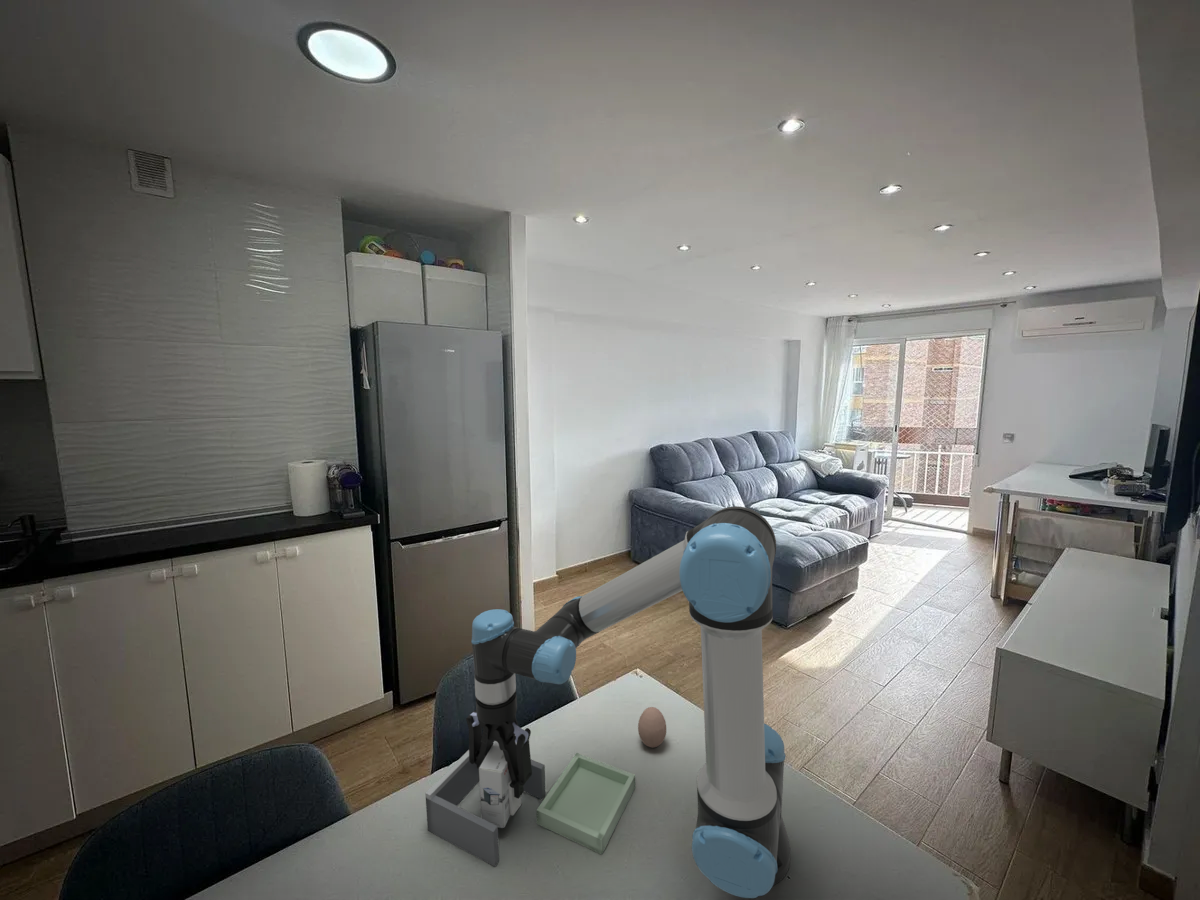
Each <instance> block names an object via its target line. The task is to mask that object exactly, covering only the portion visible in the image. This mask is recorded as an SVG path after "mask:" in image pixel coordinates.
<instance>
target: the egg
mask: <svg viewBox="0 0 1200 900" xmlns="http://www.w3.org/2000/svg"><path fill="white" fill-rule="evenodd" d="M637 731H638V735H639V738H640V740H641V742H642V743H643V744H644V745H646V747H649V748H657V747H659V746H661V744H662V743H663V742H664V740H665V739H666V735H667V721H666V719H665V716H664V714H663V713H662V712H661V711H660V709H658V708H657V707H654V706H649V707H647V708H645V709H644V710H643V712H642V713H641V714H640V716H639V719H638V725H637Z"/></svg>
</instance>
